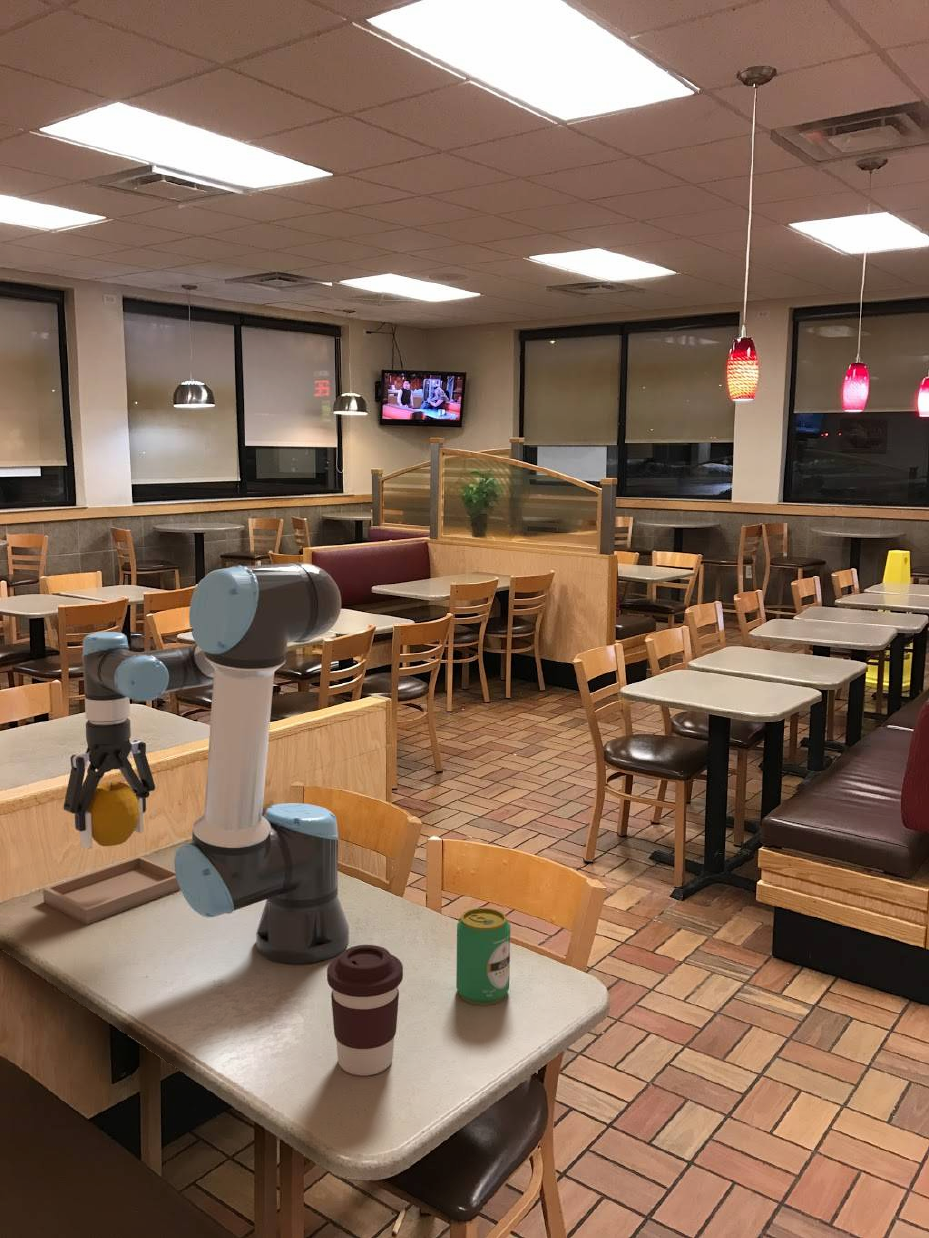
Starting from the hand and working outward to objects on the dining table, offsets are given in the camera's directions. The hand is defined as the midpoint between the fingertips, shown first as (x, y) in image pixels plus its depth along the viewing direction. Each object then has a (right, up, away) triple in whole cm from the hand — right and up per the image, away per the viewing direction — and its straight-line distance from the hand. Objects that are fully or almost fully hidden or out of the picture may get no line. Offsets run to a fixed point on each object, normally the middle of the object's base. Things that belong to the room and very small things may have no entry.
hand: (112, 838), depth 184 cm
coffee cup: (+51, -19, -49) cm, 73 cm away
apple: (0, -1, 0) cm, 1 cm away
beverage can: (+67, -17, -31) cm, 75 cm away
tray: (0, -11, +2) cm, 11 cm away
